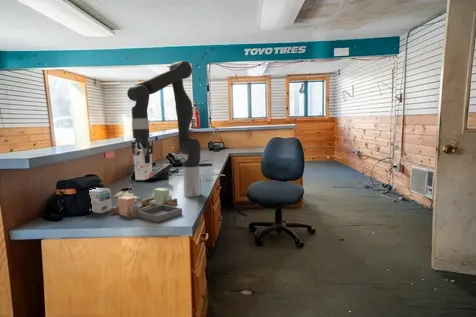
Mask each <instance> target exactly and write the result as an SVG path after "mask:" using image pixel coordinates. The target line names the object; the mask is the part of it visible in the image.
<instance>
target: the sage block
mask: <svg viewBox="0 0 476 317" xmlns="http://www.w3.org/2000/svg"><path fill="white" fill-rule="evenodd" d="M153 194H154V198H155V200H156V204H158V203H161V202H165V201H166V197H167V196H170V189H168V188H162V187H158V188H155V189H153Z"/></svg>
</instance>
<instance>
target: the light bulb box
mask: <svg viewBox="0 0 476 317" xmlns="http://www.w3.org/2000/svg"><path fill="white" fill-rule="evenodd" d="M95 188H96V189H92V188H91V189H92V190H89V195H90V198H91V204H92V211H93V212H92V213H96V214H103V213H106V212H111V208H112V206H113V205H112V196H111V195H112V194H111V192H112V191H111V189H110V188H103V187H95Z"/></svg>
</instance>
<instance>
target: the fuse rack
mask: <svg viewBox="0 0 476 317" xmlns="http://www.w3.org/2000/svg"><path fill="white" fill-rule="evenodd" d="M142 198H143V197H141V196H138V197H135V205H133V206H131V211H129V212H127V216H126V217H127V220H131V219H134V218H138V211H141V210H145V209H148V208H151V207H155V206H158V205H162V204H163V205H168V206H173V207H175V206H177V205H178V198H172V195H169V196H167V197H166V201H165V202H161V203H158V204H156V200H155V198H154V193H152V194H151V197H148V198H143V199H142ZM110 212H111V213H110V214H111V215H116V214H119V201H118V202H116V206H114V207H112V208H111V210H110Z"/></svg>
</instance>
